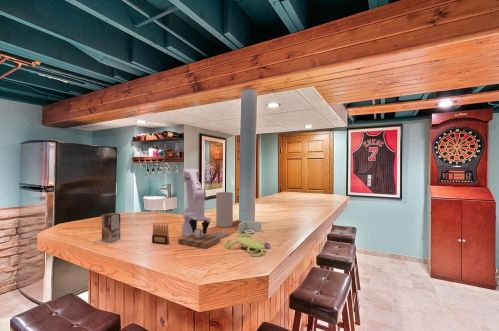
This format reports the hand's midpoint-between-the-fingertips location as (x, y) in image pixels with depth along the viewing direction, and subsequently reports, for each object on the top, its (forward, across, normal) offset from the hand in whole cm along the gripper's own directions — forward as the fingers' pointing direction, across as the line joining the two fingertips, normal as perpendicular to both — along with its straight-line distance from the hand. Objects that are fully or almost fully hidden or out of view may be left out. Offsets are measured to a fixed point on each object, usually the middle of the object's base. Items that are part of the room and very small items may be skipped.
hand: (199, 233), depth 144 cm
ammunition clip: (+6, -20, -11) cm, 24 cm away
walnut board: (+6, 0, 0) cm, 6 cm away
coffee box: (+6, -52, -20) cm, 56 cm away
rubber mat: (+6, +2, +18) cm, 19 cm away
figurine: (+7, +29, +5) cm, 31 cm away
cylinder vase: (+6, -9, +42) cm, 43 cm away
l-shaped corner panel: (+7, +18, +32) cm, 38 cm away
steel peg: (+6, 0, 0) cm, 6 cm away
